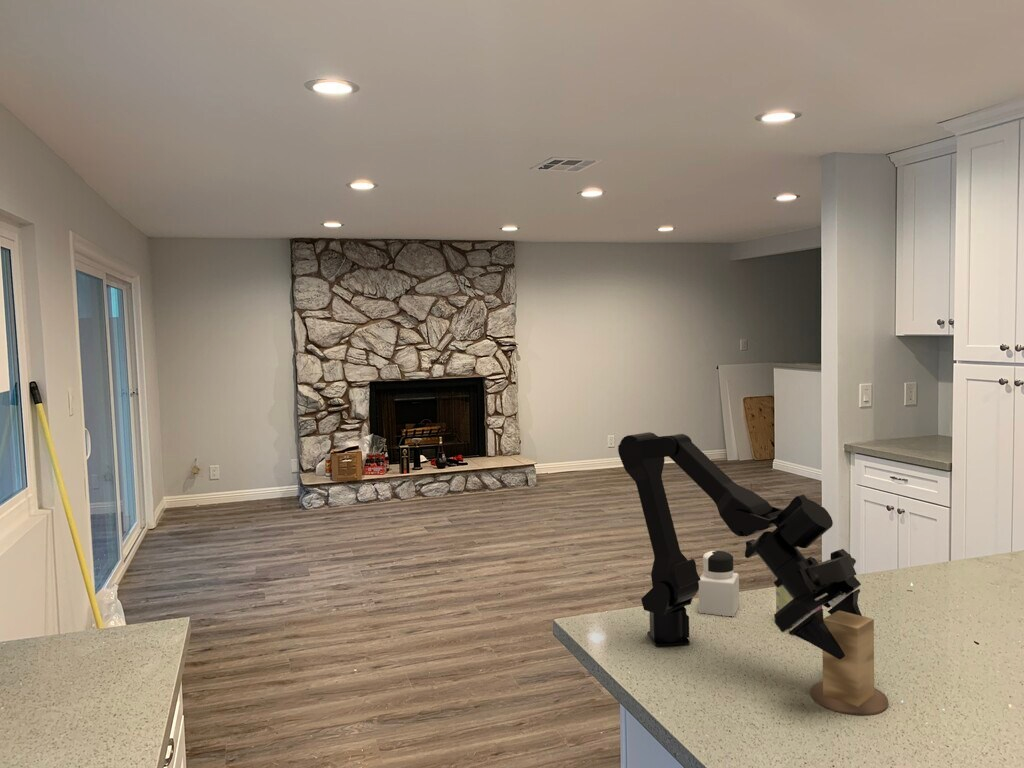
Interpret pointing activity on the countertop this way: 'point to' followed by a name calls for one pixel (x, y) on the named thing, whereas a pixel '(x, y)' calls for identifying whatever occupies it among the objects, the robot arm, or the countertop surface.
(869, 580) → the countertop surface
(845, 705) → the coaster
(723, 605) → the medicine bottle
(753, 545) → the robot arm
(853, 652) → the oak block
